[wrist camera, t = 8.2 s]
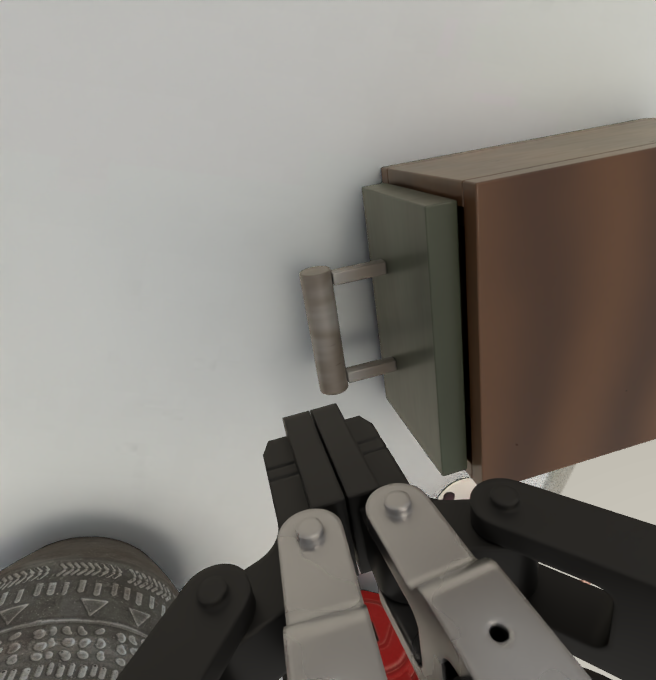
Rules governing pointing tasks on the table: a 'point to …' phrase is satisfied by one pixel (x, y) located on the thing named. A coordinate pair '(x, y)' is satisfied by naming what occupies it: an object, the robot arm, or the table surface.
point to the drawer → (406, 317)
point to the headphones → (387, 641)
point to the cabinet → (555, 293)
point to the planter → (78, 609)
